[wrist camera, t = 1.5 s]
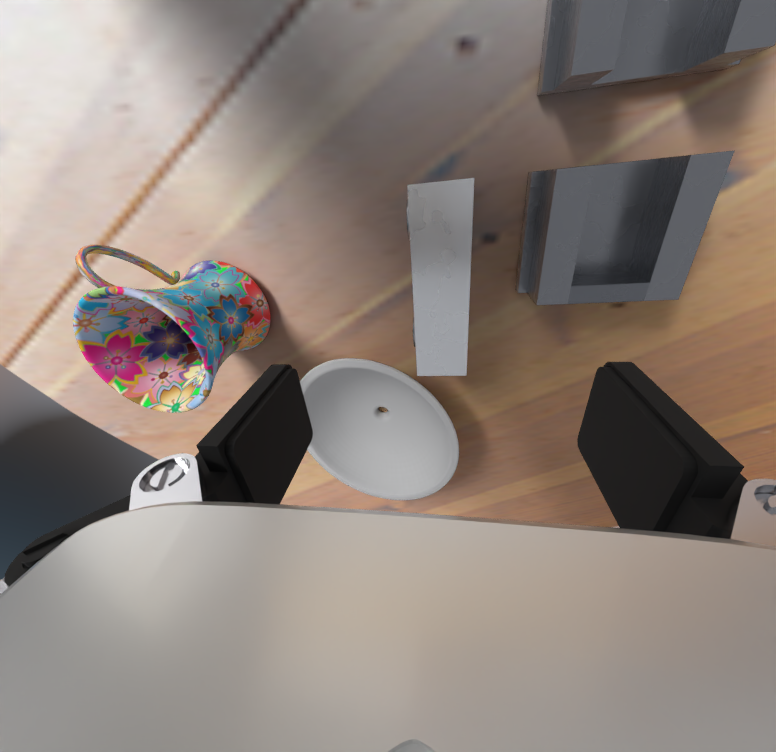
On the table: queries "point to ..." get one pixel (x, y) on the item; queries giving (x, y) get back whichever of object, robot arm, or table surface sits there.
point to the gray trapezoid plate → (441, 273)
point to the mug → (167, 329)
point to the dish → (379, 429)
